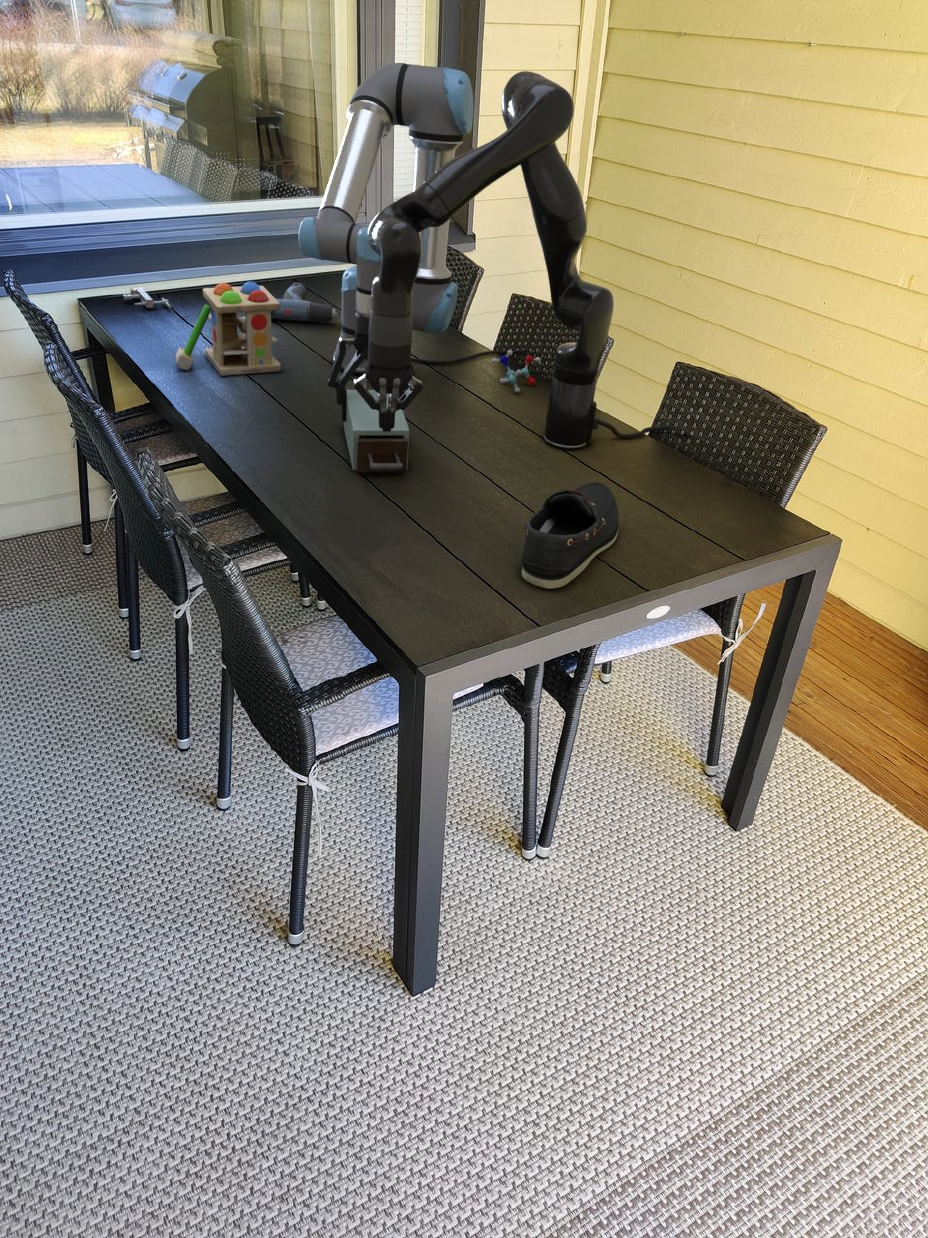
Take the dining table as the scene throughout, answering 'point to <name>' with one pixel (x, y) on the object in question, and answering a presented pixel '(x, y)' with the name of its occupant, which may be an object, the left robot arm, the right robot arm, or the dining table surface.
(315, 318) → the power drill
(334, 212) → the left robot arm
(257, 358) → the pounding bench toy
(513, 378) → the molecular model
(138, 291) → the clamp
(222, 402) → the dining table surface
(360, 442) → the drawer
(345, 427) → the cabinet
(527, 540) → the boat shoe
